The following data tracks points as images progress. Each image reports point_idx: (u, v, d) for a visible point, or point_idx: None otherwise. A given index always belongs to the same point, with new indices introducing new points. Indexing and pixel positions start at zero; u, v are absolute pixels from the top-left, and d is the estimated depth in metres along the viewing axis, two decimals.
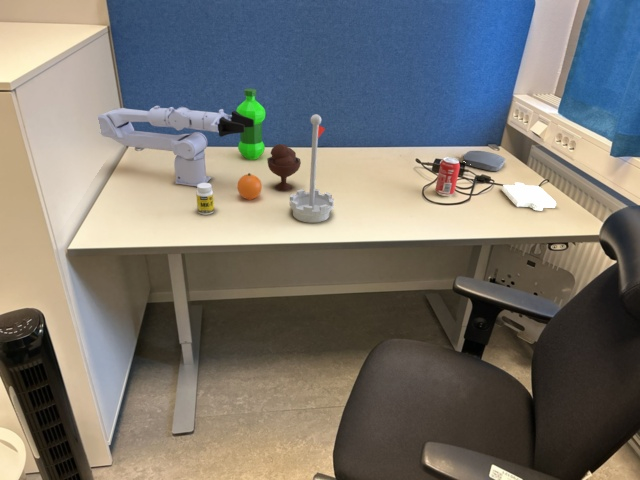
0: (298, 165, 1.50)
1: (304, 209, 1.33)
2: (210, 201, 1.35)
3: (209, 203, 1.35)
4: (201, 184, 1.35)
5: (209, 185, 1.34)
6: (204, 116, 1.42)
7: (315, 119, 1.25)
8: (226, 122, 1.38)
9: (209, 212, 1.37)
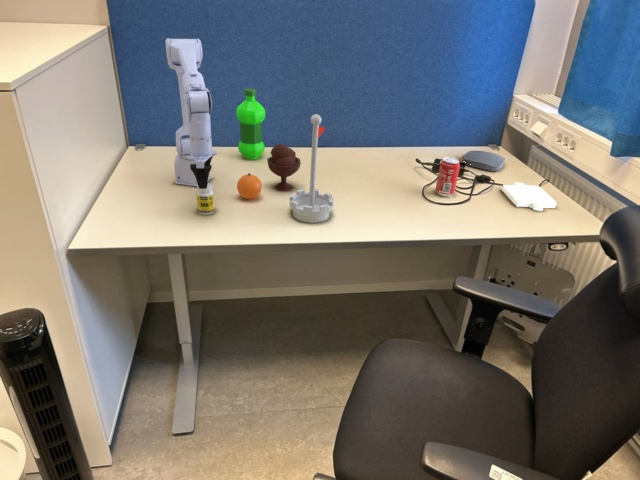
0: (298, 165, 1.50)
1: (304, 209, 1.33)
2: (210, 201, 1.35)
3: (209, 203, 1.35)
4: None
5: (209, 185, 1.34)
6: (207, 139, 1.25)
7: (315, 119, 1.25)
8: (207, 173, 1.27)
9: (209, 212, 1.37)
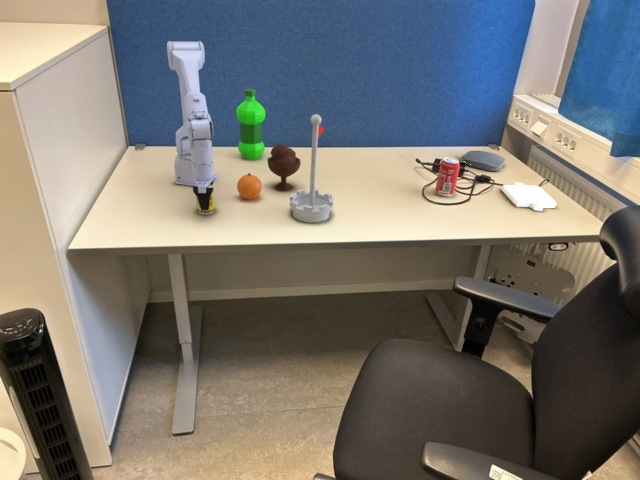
0: (298, 165, 1.50)
1: (304, 209, 1.33)
2: (210, 201, 1.35)
3: None
4: None
5: (209, 185, 1.34)
6: (209, 164, 1.29)
7: (315, 119, 1.25)
8: (209, 196, 1.32)
9: (209, 212, 1.37)
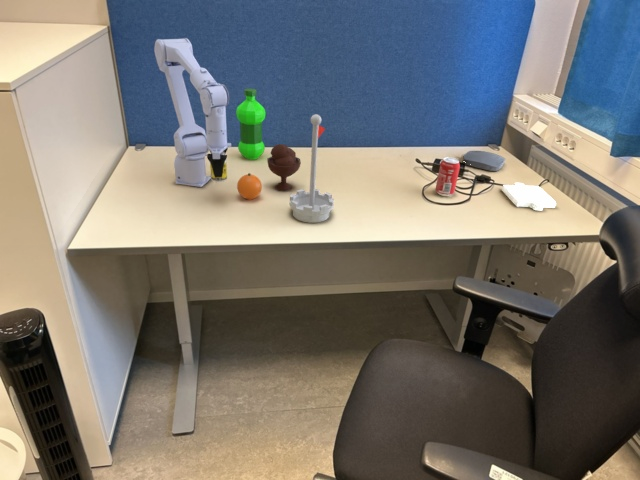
0: (298, 165, 1.50)
1: (304, 209, 1.33)
2: (224, 169, 1.39)
3: None
4: None
5: (222, 153, 1.38)
6: (223, 132, 1.33)
7: (315, 119, 1.25)
8: (223, 163, 1.36)
9: (222, 180, 1.41)
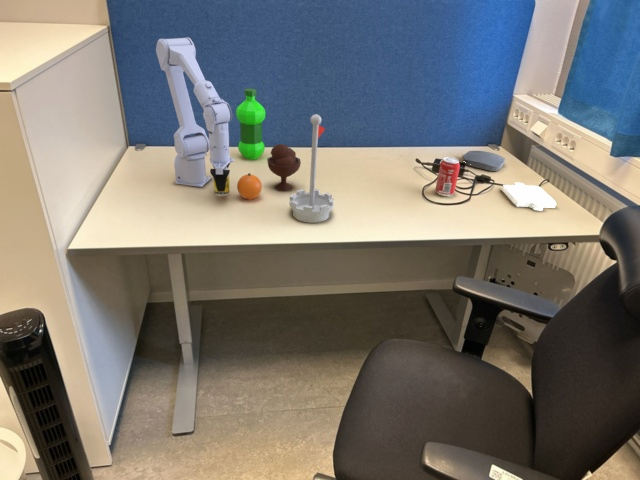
0: (298, 165, 1.50)
1: (304, 209, 1.33)
2: (226, 183, 1.43)
3: None
4: None
5: (225, 168, 1.42)
6: (225, 147, 1.37)
7: (315, 119, 1.25)
8: (225, 177, 1.39)
9: (225, 193, 1.44)
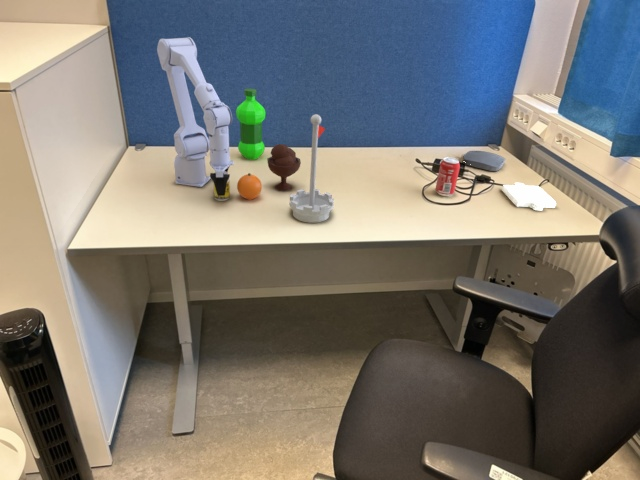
0: (298, 165, 1.50)
1: (304, 209, 1.33)
2: (227, 188, 1.44)
3: (226, 190, 1.44)
4: None
5: (225, 173, 1.43)
6: (225, 150, 1.37)
7: (315, 119, 1.25)
8: (226, 182, 1.39)
9: (225, 198, 1.45)
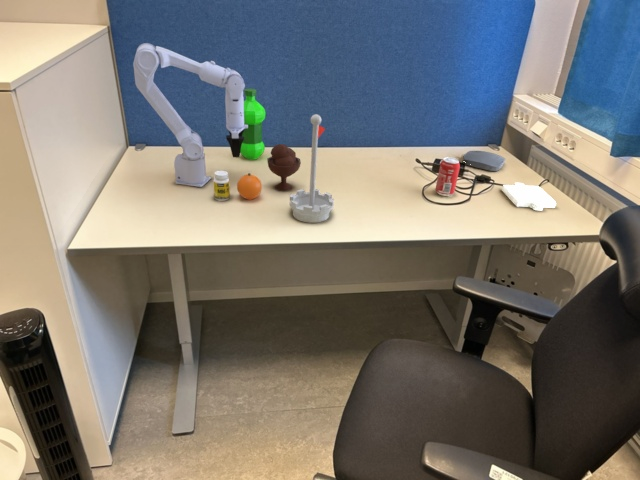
0: (298, 165, 1.50)
1: (304, 209, 1.33)
2: (227, 188, 1.44)
3: (226, 190, 1.44)
4: (218, 172, 1.43)
5: (225, 173, 1.43)
6: (240, 114, 1.47)
7: (315, 119, 1.25)
8: (240, 143, 1.48)
9: (225, 198, 1.45)
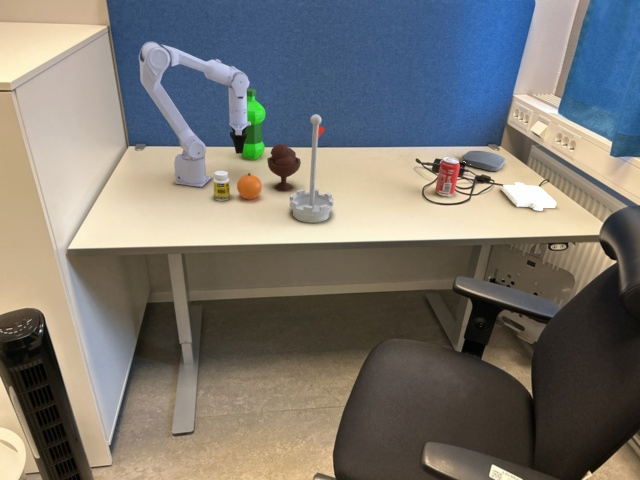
0: (298, 165, 1.50)
1: (304, 209, 1.33)
2: (227, 188, 1.44)
3: (226, 190, 1.44)
4: (218, 172, 1.43)
5: (225, 173, 1.43)
6: (244, 111, 1.50)
7: (315, 119, 1.25)
8: (244, 140, 1.52)
9: (225, 198, 1.45)
